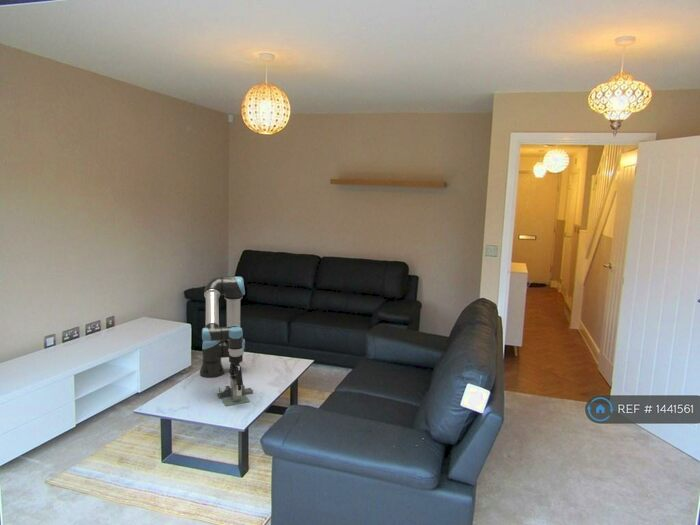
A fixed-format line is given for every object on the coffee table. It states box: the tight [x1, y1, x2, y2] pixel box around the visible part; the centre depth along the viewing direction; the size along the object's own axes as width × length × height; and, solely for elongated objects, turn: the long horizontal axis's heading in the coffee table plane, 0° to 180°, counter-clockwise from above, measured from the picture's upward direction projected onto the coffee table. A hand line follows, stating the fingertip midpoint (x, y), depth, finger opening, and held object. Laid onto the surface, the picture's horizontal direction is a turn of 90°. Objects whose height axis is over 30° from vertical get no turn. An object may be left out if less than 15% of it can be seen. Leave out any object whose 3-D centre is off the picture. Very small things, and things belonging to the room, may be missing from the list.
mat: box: [221, 394, 251, 407], centre depth 281 cm, size 9×14×1 cm, turn 118°
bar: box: [229, 375, 242, 402], centre depth 280 cm, size 5×5×14 cm
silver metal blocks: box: [216, 383, 254, 400], centre depth 289 cm, size 5×20×6 cm, turn 118°
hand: (235, 390), depth 280 cm, fingers open, 13 cm apart
